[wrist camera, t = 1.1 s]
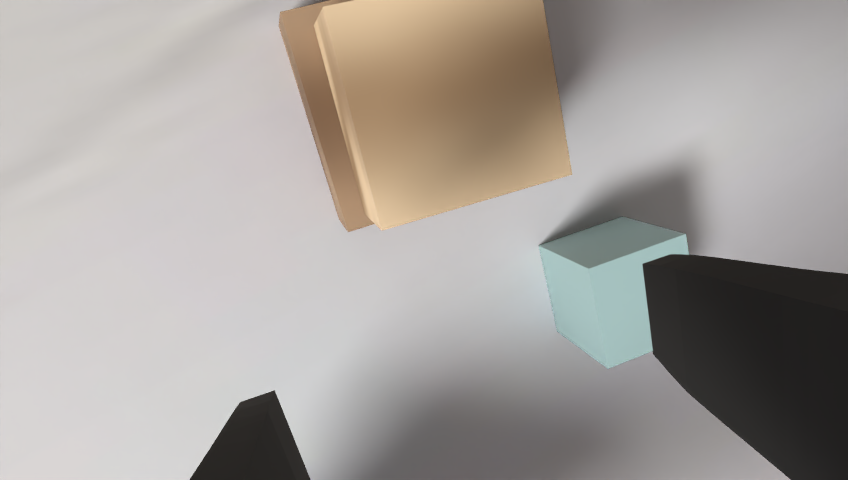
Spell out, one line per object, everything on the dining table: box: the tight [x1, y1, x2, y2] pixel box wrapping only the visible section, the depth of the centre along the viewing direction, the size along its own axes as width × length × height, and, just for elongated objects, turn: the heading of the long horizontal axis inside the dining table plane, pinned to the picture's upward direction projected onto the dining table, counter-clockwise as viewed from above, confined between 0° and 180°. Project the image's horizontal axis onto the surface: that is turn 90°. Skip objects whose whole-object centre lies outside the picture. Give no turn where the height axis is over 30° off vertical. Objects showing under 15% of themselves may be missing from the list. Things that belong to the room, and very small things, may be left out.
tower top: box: [314, 0, 572, 230], centre depth 17 cm, size 6×6×3 cm
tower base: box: [279, 0, 375, 232], centre depth 20 cm, size 7×7×3 cm
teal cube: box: [539, 217, 689, 369], centre depth 23 cm, size 4×4×4 cm
